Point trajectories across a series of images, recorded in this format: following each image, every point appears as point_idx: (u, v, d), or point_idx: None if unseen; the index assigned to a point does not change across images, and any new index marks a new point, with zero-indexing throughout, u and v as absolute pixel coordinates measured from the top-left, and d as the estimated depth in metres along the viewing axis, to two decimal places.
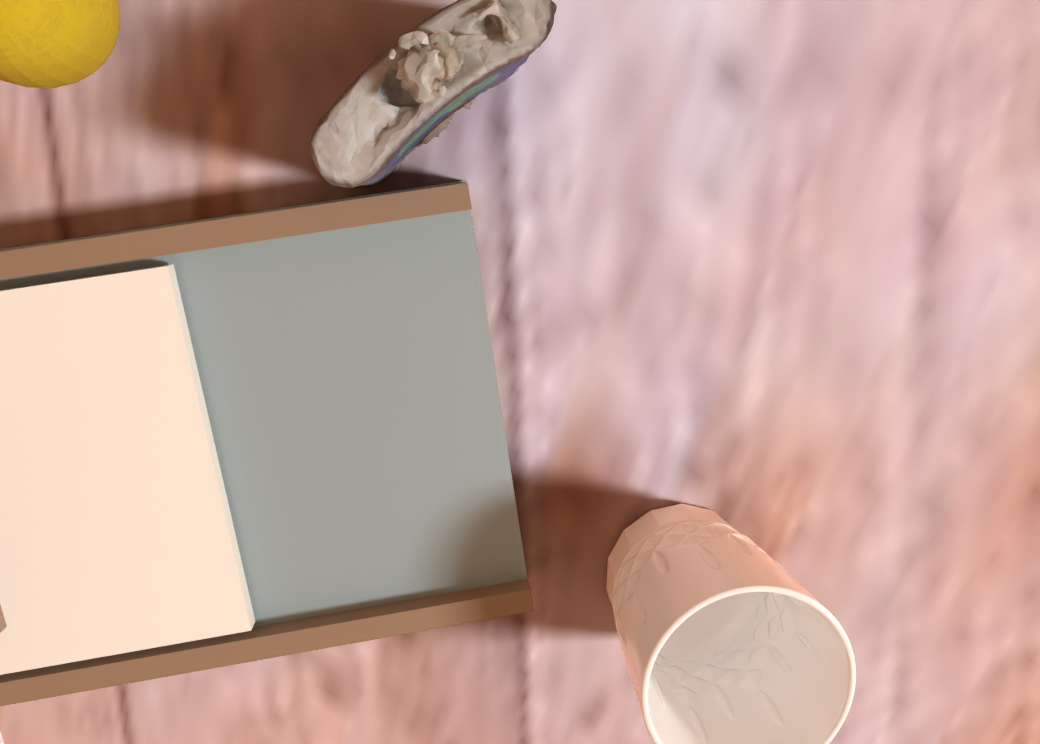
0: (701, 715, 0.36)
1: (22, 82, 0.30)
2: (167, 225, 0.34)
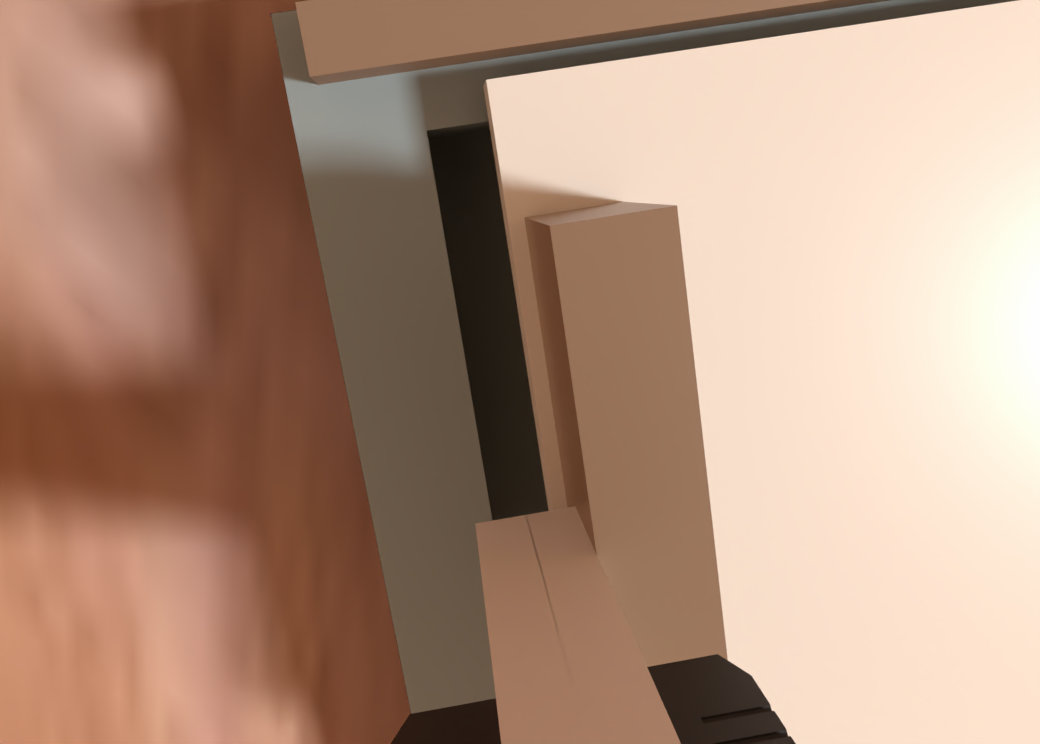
0: None
1: None
2: None
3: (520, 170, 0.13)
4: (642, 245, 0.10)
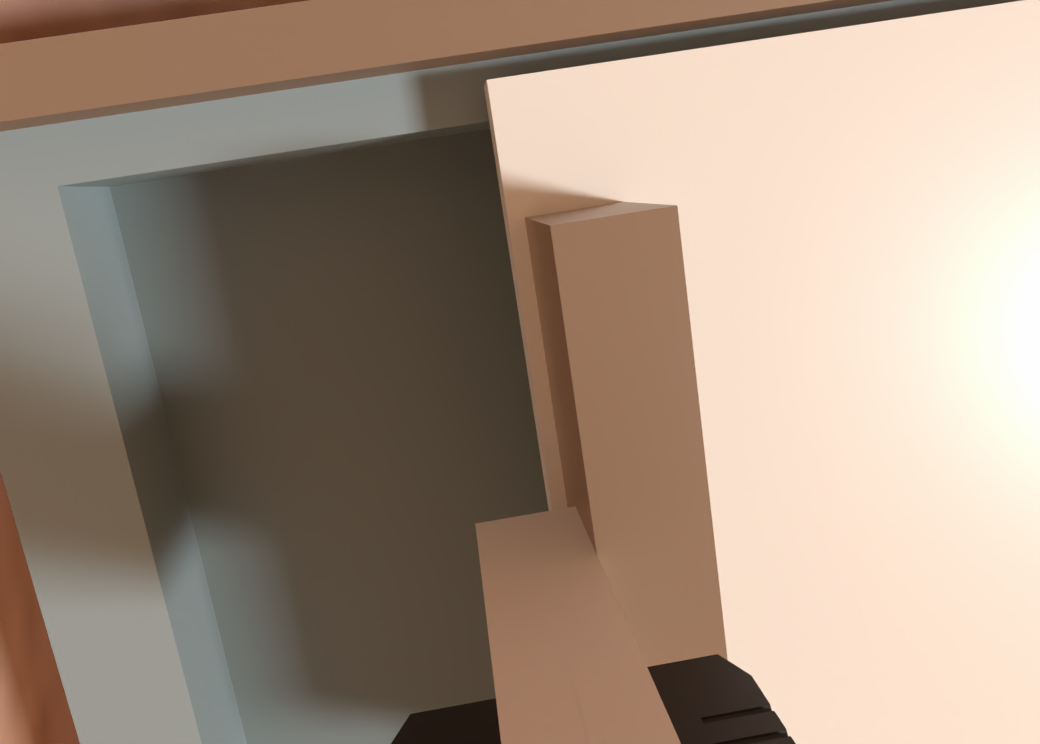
0: None
1: None
2: None
3: (520, 171, 0.13)
4: (642, 244, 0.10)
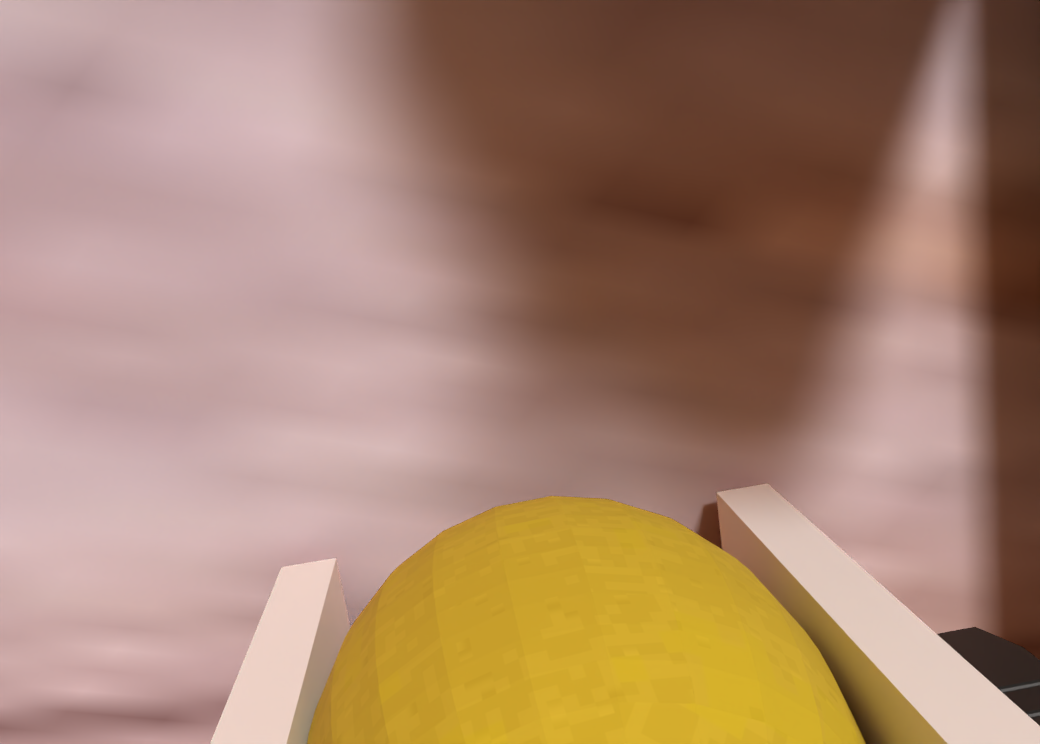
0: None
1: None
2: None
3: None
4: None
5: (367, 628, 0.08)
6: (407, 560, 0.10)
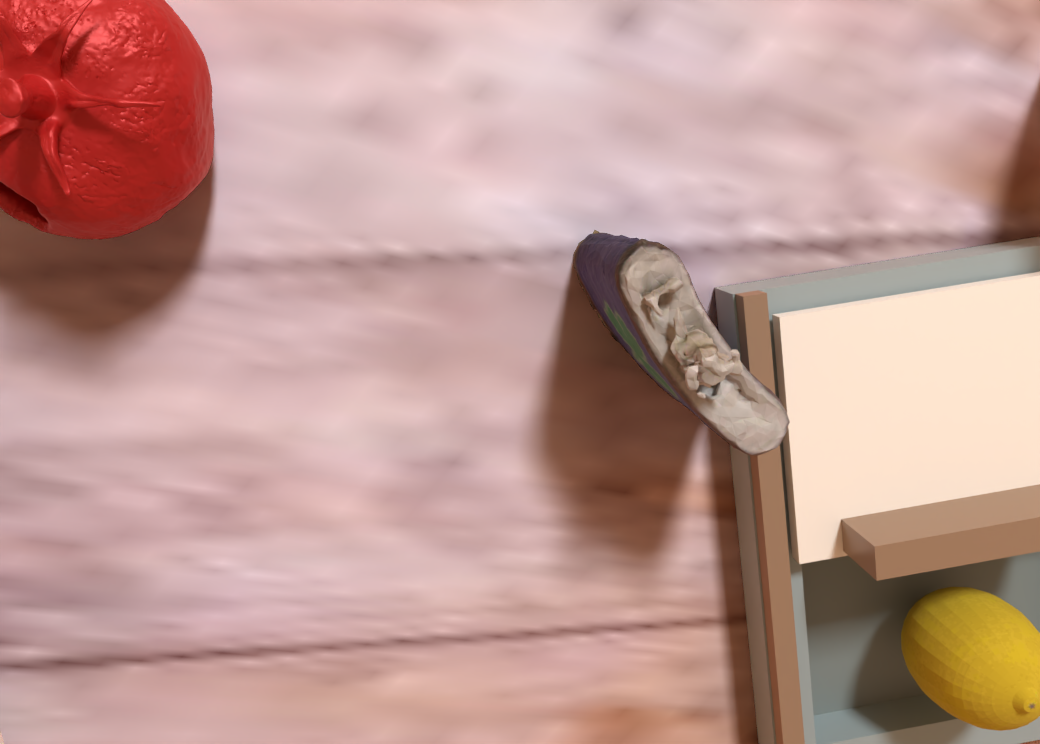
0: None
1: None
2: (756, 547, 0.39)
3: (828, 552, 0.39)
4: (884, 555, 0.35)
5: (933, 619, 0.39)
6: (926, 603, 0.40)
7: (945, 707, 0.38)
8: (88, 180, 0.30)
